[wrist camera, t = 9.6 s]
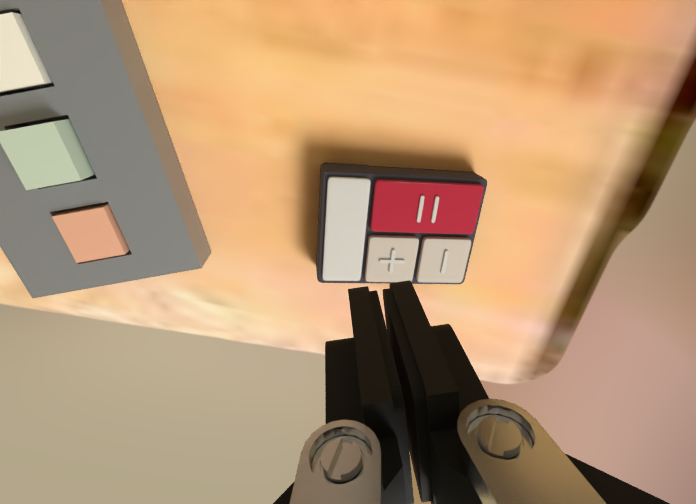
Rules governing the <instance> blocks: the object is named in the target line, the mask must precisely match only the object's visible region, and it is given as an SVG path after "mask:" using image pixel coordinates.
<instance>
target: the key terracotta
mask: <svg viewBox="0 0 696 504" xmlns="http://www.w3.org/2000/svg"><path fill="white" fill-rule="evenodd" d="M52 218H53V220H54V222H55V224H56V226H57V227H58V229H59V231H60V233H61V235H62V237H63V239H64V240H65V242H66V244H67V246H68V248H69V250H70V252H71V254H72V255H73V257H74V259H75V261H76V263H79V262H85V261H90V260H96V259H101V258H107V257H113V256H118V255H124V254H126V253H127V252H128V251H129V250H130V249H129V247H128V244H127V242H126V240H125V238H124V236H123V234H122V231H121V229H120V227H119V225H118V223H117V221H116V218H115V216H114V214H113V212H112V210H111V208H110V205H109V203H108V202H104V203H98V204H93V205H87V206H82V207H76V208H71V209H66V210H64V211H62V212H60V213H58V214H56V215H54V216H52Z"/></svg>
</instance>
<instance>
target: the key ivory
mask: <svg viewBox="0 0 696 504" xmlns="http://www.w3.org/2000/svg"><path fill="white" fill-rule="evenodd" d="M49 85H54V84H53V82H52V79H51V77H50V75H49V73H48V71H47V68H46V66H45V64H44V62H43V60H42V58H41V55H40V53H39V51H38V49H37V47H36V45H35V42H34V40H33V38H32V36H31V34H30V32H29V29H28V27H27V25H26V23H25V21H24V18H23V16H22V14H18V13H13V12H11V13H6V14H0V93H10V92H17V91H22V90H27V89H33V88H38V87H43V86H49Z"/></svg>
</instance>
